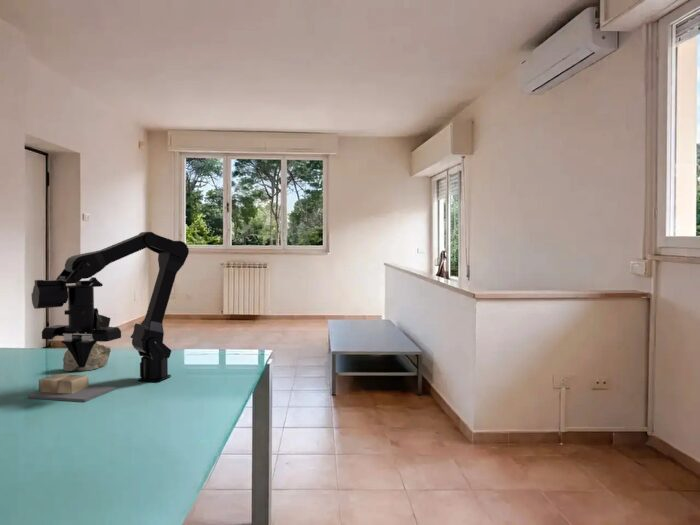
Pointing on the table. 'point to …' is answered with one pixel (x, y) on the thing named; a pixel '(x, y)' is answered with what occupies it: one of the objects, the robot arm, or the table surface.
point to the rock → (95, 359)
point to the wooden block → (63, 383)
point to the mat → (74, 394)
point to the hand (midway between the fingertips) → (82, 367)
